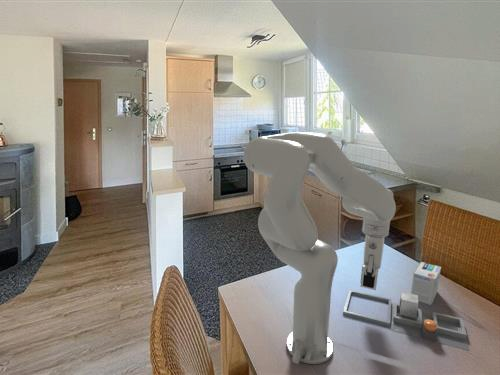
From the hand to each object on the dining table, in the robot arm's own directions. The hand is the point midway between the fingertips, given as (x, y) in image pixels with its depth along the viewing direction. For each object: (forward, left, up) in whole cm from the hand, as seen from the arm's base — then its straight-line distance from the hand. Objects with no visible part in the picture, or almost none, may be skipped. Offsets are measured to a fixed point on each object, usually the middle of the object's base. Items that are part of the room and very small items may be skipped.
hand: (368, 282), depth 101 cm
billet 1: (0, 0, -1) cm, 1 cm away
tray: (+1, 0, -11) cm, 11 cm away
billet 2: (+1, -12, -10) cm, 15 cm away
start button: (-6, -17, -7) cm, 20 cm away
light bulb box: (+17, -17, -11) cm, 27 cm away
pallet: (-1, -17, -11) cm, 20 cm away
